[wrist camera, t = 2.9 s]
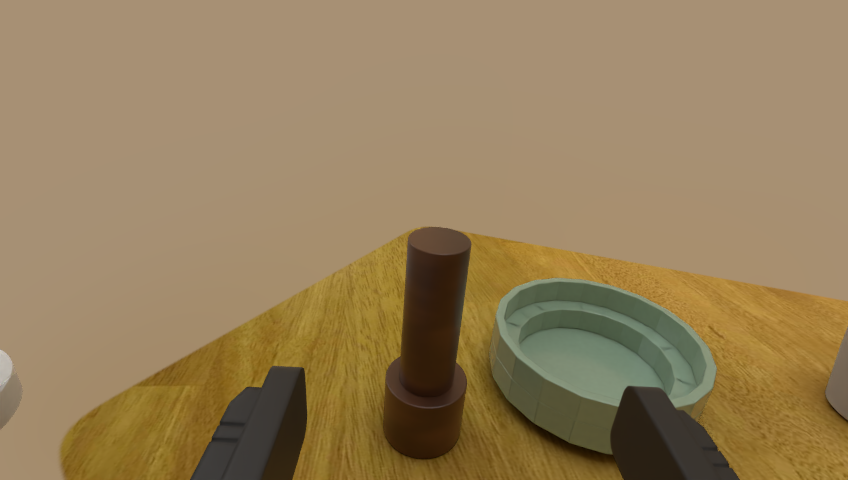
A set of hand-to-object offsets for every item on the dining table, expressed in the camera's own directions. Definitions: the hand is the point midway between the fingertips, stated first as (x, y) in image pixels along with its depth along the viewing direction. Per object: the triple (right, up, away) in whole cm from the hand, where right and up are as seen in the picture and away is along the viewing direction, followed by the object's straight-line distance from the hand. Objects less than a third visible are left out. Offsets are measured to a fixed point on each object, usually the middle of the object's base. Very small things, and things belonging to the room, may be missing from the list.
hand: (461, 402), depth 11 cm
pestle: (-1, -8, +17) cm, 19 cm away
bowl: (+11, -6, +22) cm, 25 cm away
